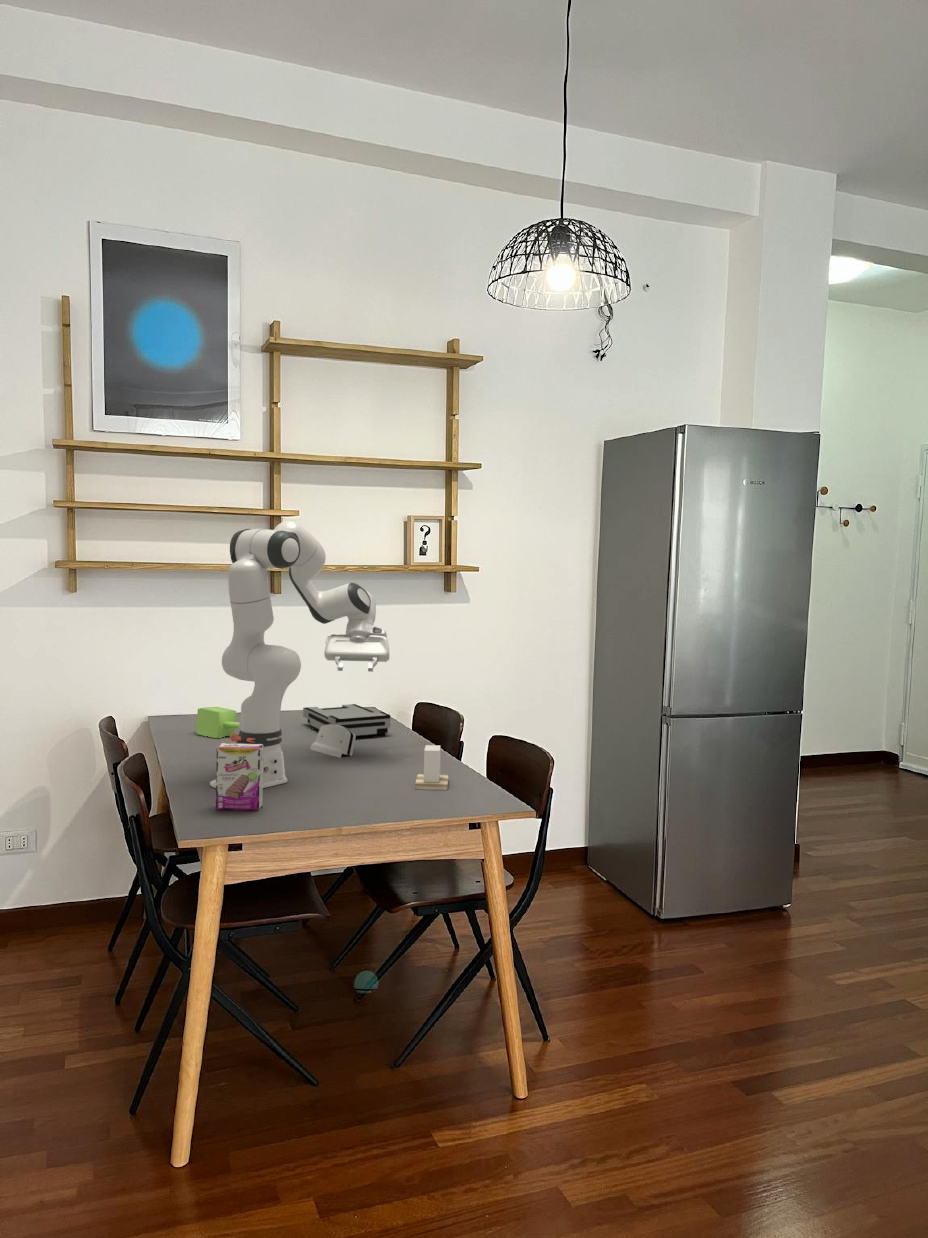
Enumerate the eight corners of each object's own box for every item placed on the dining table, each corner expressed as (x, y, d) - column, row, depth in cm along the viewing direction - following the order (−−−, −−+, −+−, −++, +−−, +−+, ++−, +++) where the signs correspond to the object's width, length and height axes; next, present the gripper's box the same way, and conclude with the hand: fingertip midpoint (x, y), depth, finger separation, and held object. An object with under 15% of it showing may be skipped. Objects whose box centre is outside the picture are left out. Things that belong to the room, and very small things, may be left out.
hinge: (309, 749, 308) (317, 719, 310) (320, 752, 311) (328, 723, 313) (340, 758, 296) (349, 727, 298) (351, 761, 300) (359, 730, 301)
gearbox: (247, 737, 326) (249, 711, 325) (226, 741, 318) (227, 713, 317) (212, 730, 336) (213, 704, 335) (190, 733, 327) (192, 706, 327)
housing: (438, 782, 263) (439, 750, 262) (423, 781, 263) (424, 750, 262) (439, 776, 270) (440, 745, 269) (425, 775, 270) (425, 745, 269)
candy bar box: (215, 810, 236) (215, 746, 234) (219, 805, 241) (219, 742, 239) (259, 811, 236) (260, 747, 235) (263, 805, 241) (263, 743, 240)
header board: (447, 790, 261) (447, 773, 260) (415, 789, 261) (415, 772, 260) (448, 780, 272) (448, 764, 271) (417, 779, 272) (417, 763, 271)
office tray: (354, 722, 358) (354, 700, 357) (390, 737, 330) (390, 715, 330) (303, 726, 348) (303, 704, 347) (335, 742, 320) (335, 719, 319)
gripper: (325, 628, 293) (320, 663, 284) (390, 629, 293) (387, 664, 284) (327, 640, 298) (322, 675, 289) (391, 642, 298) (388, 677, 289)
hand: (355, 670), depth 286 cm, fingers open, 8 cm apart
